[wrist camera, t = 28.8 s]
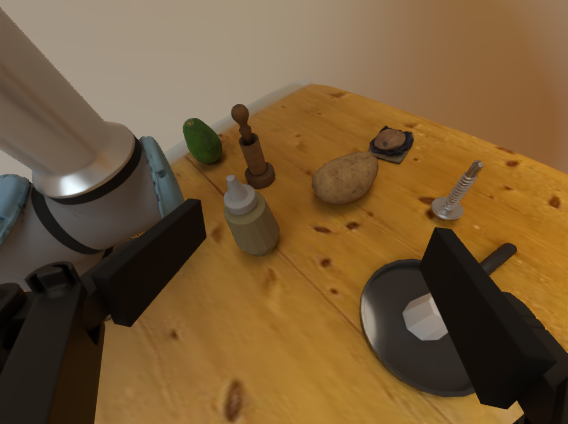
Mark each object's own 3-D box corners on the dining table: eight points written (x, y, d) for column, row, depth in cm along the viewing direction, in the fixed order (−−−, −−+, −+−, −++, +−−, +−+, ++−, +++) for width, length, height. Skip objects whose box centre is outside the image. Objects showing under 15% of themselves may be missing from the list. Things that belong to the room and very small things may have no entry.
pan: (430, 430, 27) (437, 434, 25) (336, 303, 36) (336, 300, 35) (523, 340, 30) (534, 338, 29) (415, 245, 40) (418, 240, 38)
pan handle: (468, 293, 34) (475, 290, 32) (454, 281, 35) (460, 277, 34) (516, 253, 36) (524, 248, 35) (501, 243, 37) (508, 237, 36)
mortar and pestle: (255, 193, 52) (228, 122, 37) (242, 177, 56) (213, 107, 41) (280, 178, 53) (263, 105, 39) (266, 164, 57) (245, 91, 42)
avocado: (192, 163, 61) (167, 123, 52) (215, 146, 64) (196, 105, 54) (210, 175, 58) (186, 135, 48) (233, 157, 60) (216, 115, 51)
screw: (453, 230, 40) (423, 218, 42) (461, 210, 42) (432, 200, 44) (497, 179, 30) (455, 166, 32) (505, 156, 32) (465, 145, 34)
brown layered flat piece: (401, 166, 50) (405, 153, 47) (363, 155, 54) (365, 142, 51) (416, 136, 55) (422, 123, 52) (380, 128, 58) (384, 115, 55)
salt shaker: (453, 330, 32) (503, 313, 23) (420, 349, 31) (458, 338, 22) (424, 294, 35) (458, 266, 26) (393, 310, 34) (417, 287, 25)
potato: (387, 191, 47) (397, 161, 41) (329, 224, 45) (330, 198, 38) (356, 164, 53) (360, 134, 46) (303, 192, 50) (299, 165, 44)
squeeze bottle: (270, 217, 48) (245, 148, 33) (290, 247, 43) (272, 181, 29) (235, 237, 46) (192, 174, 32) (252, 270, 42) (212, 214, 27)
